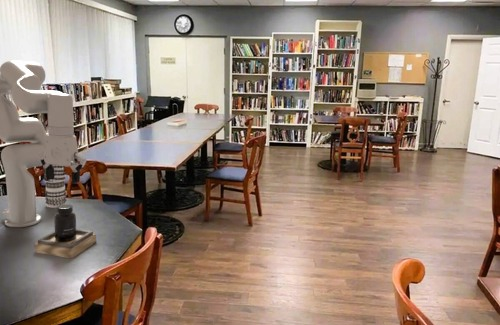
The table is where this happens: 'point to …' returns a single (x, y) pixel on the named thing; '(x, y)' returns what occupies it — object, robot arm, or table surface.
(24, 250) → the table surface
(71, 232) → the supplement bottle
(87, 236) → the wooden tray
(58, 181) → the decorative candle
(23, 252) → the table surface
